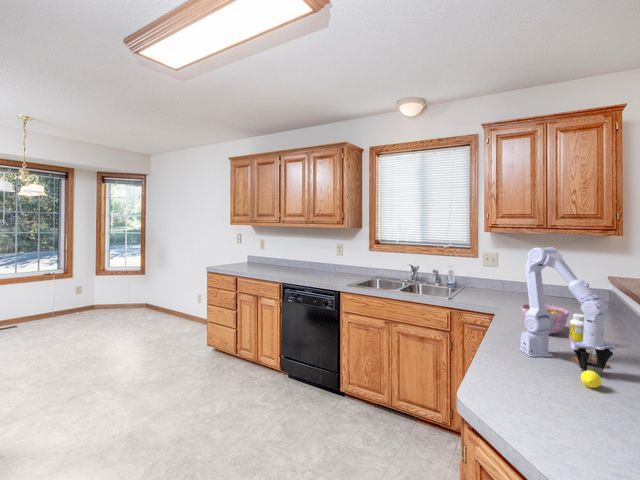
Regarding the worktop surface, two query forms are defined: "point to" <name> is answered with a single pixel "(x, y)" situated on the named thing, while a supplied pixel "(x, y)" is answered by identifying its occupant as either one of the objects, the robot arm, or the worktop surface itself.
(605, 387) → the worktop surface
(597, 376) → the lemon
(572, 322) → the supplement bottle
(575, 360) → the post board
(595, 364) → the collar ring
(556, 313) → the bowl of food
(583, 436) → the worktop surface
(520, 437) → the worktop surface
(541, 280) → the robot arm
